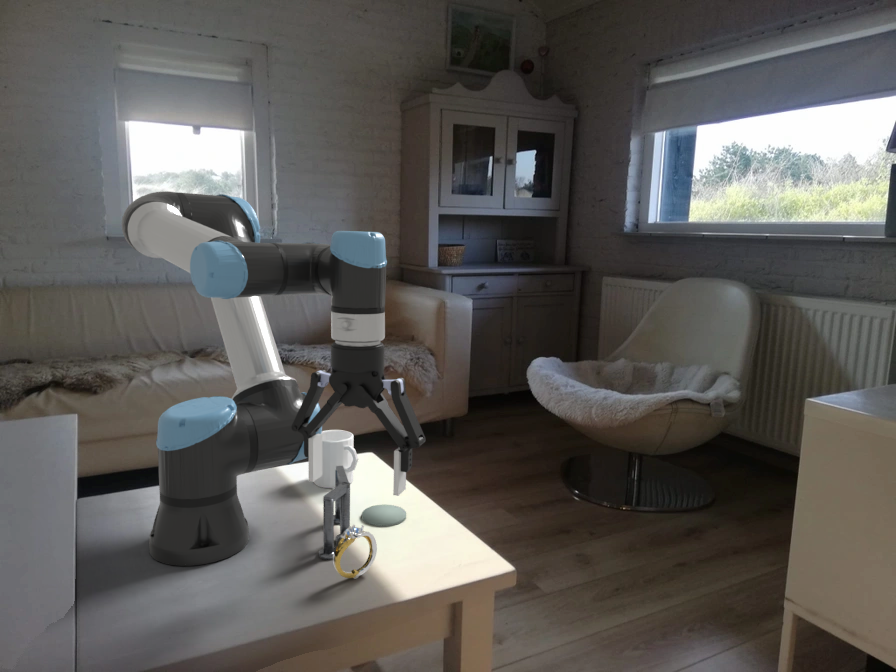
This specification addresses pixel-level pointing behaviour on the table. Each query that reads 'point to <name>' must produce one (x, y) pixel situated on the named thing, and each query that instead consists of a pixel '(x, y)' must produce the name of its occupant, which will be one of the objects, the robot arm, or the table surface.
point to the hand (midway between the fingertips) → (356, 485)
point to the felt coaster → (384, 515)
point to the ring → (353, 534)
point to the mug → (336, 456)
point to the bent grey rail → (341, 512)
